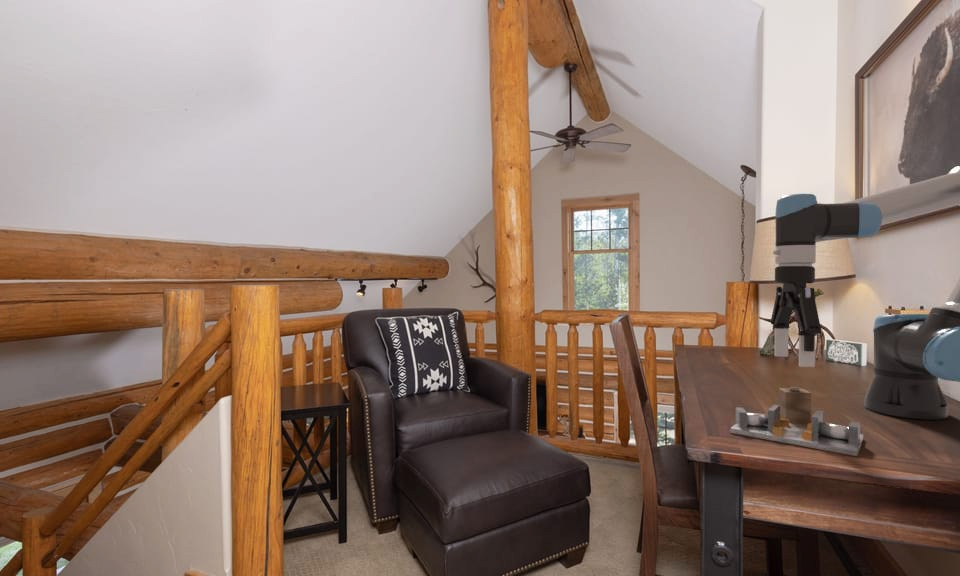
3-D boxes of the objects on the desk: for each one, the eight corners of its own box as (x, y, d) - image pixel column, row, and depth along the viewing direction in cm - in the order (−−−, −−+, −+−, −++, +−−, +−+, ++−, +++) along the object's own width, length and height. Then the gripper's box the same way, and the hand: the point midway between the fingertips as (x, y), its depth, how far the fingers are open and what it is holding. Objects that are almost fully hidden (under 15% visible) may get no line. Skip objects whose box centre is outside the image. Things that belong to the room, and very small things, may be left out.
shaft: (766, 424, 106) (766, 409, 106) (771, 429, 102) (771, 414, 102) (735, 422, 108) (735, 407, 108) (739, 427, 104) (739, 412, 104)
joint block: (803, 419, 112) (803, 386, 112) (810, 424, 108) (811, 390, 108) (778, 418, 113) (778, 385, 113) (785, 423, 109) (785, 389, 109)
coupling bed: (863, 439, 98) (863, 413, 98) (857, 456, 89) (857, 427, 89) (745, 420, 112) (745, 397, 112) (730, 432, 103) (730, 408, 103)
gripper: (756, 266, 123) (755, 352, 124) (799, 264, 99) (798, 371, 99) (790, 266, 122) (789, 353, 122) (842, 264, 97) (840, 372, 98)
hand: (793, 361), depth 111 cm, fingers open, 13 cm apart
